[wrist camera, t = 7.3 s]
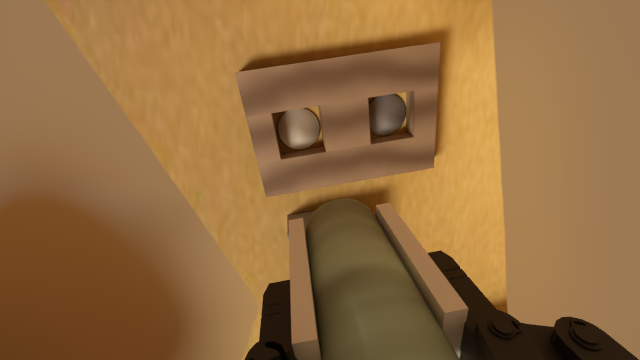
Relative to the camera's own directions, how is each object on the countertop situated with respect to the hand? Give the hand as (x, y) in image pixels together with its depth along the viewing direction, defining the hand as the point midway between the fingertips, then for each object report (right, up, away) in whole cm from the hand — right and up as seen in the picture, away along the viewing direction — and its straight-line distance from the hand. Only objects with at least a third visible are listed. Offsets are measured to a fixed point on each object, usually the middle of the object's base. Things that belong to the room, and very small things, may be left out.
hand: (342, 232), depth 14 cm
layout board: (+2, +11, +21) cm, 24 cm away
